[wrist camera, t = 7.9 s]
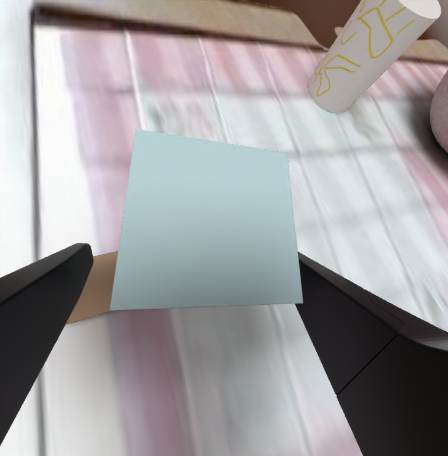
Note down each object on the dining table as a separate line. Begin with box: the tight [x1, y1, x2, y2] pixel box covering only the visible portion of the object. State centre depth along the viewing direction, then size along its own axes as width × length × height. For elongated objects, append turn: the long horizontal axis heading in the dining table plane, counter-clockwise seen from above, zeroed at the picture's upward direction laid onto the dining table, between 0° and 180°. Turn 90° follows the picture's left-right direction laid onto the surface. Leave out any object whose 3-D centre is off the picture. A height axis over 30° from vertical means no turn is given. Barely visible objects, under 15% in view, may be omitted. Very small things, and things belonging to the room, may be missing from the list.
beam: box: [66, 251, 118, 324], centre depth 17 cm, size 4×18×3 cm, turn 105°
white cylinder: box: [308, 0, 441, 113], centre depth 26 cm, size 8×8×12 cm
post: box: [110, 129, 303, 310], centre depth 10 cm, size 4×4×13 cm
